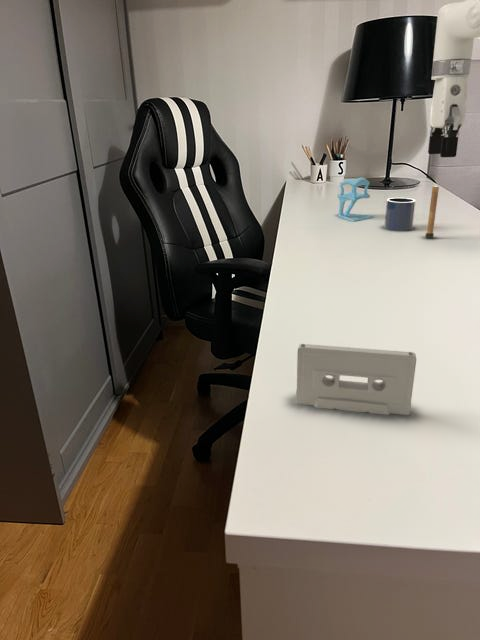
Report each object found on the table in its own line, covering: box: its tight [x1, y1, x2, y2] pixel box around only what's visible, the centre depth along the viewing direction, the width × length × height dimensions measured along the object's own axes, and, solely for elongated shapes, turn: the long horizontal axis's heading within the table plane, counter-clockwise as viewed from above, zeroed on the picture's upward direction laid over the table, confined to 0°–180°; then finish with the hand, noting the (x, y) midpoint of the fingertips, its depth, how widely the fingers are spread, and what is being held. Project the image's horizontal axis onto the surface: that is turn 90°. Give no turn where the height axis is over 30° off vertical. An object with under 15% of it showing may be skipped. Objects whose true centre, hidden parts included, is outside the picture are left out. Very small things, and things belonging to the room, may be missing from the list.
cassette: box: [295, 343, 417, 416], centre depth 53 cm, size 12×2×8 cm, turn 77°
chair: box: [337, 177, 372, 222], centre depth 144 cm, size 8×8×12 cm
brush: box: [424, 185, 440, 240], centre depth 118 cm, size 2×2×13 cm
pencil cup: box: [383, 197, 416, 232], centre depth 130 cm, size 7×7×8 cm
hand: (441, 155), depth 113 cm, fingers open, 9 cm apart
